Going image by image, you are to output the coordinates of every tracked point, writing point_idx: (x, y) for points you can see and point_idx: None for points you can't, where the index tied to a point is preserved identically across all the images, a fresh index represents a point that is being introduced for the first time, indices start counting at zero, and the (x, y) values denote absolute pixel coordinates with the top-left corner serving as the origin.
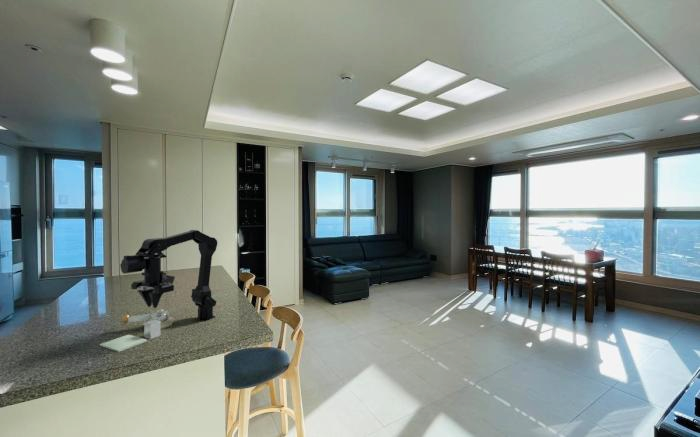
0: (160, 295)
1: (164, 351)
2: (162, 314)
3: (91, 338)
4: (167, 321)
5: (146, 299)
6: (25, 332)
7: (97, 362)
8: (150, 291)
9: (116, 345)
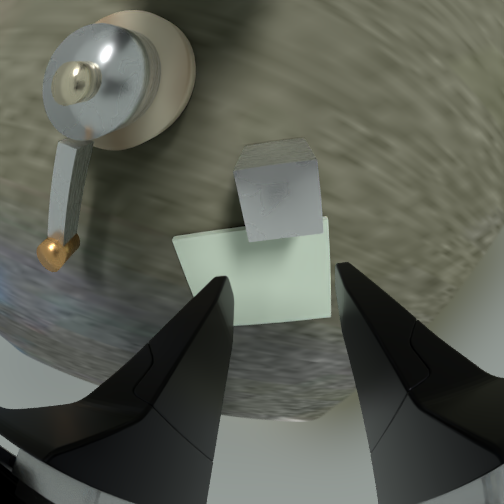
0: (464, 383)
1: (470, 226)
2: (124, 72)
3: (108, 306)
4: (167, 46)
5: (218, 395)
6: (14, 338)
7: (341, 353)
8: (152, 468)
9: (274, 308)
